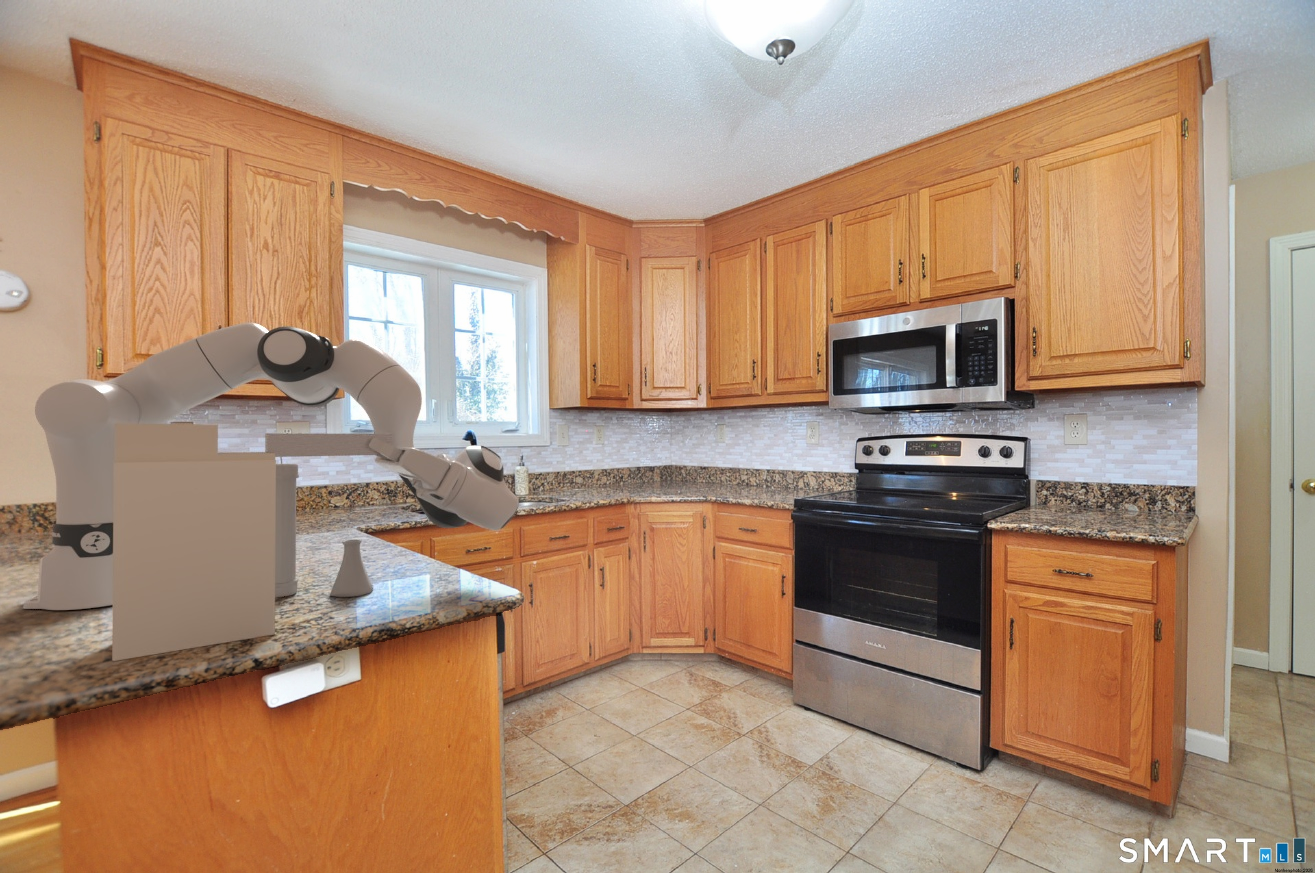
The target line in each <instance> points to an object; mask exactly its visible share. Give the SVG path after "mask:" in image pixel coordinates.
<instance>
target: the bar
mask: <svg viewBox="0 0 1315 873" xmlns="http://www.w3.org/2000/svg"><path fill="white" fill-rule="evenodd" d="M264 434H265V436H264V438H265V441H264V442H265V443H264V445H265V446H264V450H265V451H264V452H265V453H275V458H280V457H282V458H284V457H285V458H290V457H294V458H295V457H343V456H344V457H345V456H348V457H349V456H375V455H382V454H380V453H378V452H376V451H374V450H372V449H370V448H368V446H367V444H368V443H369V441H370V440H371V439H372V438H376V439H378V440H380V441H382V442H384V443H386V444H389V445H392V446H393V434H374V433H275V432H272V433H264Z"/></svg>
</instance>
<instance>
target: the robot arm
mask: <svg viewBox="0 0 1315 873" xmlns="http://www.w3.org/2000/svg"><path fill="white" fill-rule="evenodd" d="M332 343H333V342H331V340H330V339H329V338H327V337H325V336H322V335H319V334H315V333H312V332H309V331H307V330H305V329H302V328H299V327H295V326H287V325H285V326H278V327H275V328H273V329H271V330H268V329H267V328H265V327H264V326H263V325H260V324H258V323H255V322H243V323H238V324H234V325H230V326H225V327H222V328H220V329H219V328H218V329H216V330H213V331H209V332H206V333H204V334H202V335H199V336H196V337H193V338H191V339H189V340H187V341H184V342H181V343H179V344H177V345H174V346H172V347H169V348H167V349H165V350H162V351H159V352H157V353H154V354H152V355H151V356H149V357H148V358H147V359H145V360H144V361H143V362H140V363H139V364H138V365H136V366H135V367H133V368H131V369H130V370H128V371H126V372H124V373H122V374H121V375H118V376H116V377H114V378H111V379H108V380H104V381H103V380H102V381H100V380H96V379H89V378H79V379H78V378H77V379H70V380H67V381H62V382H60V383H57V384H54V385H52V386H50V387H49V388H46V389H45V390H44V391H43V392H42V393H41V394H40V395H39V396H38V398H37V400H36V402H35V407H34V414H35V415H34V416H35V417H36V420H37V422H38V424H39V425H40V427H42V429H43V431H44V433H45V438H46V442H47V445H48V446H47V447H48V450H49V454H50V457H51V461H52V467H53V470H54V476H55V483H56V485H55V489H56V490H55V491H56V492H55V493H56V494H55V495H56V500H55V502H56V505H55V506H56V509H55V510H56V511H55V512H56V513H55V514H56V515H55V516H56V521H55V522H56V523H54V524H52V530H51V537H52V538H51V540H52V541H51V544H52V545H54V546H53V548H52V549H51V550H50V551H49V552H47V553H46V554H45V555H44V556H43V557H41V558H40V560H39V568H38V569H39V570H38V571H39V572H38V582H37V583H38V584H37V596H34V597H32V598H30V599H28V600H26V601H24V602H23V606H22V607H23V608H22V609H23V610H31V609H32V610H34V609H35V610H36V609H37V610H38V609H39V610H40V609H41V610H47V611H69V610H70V611H71V610H82V609H91V608H93V609H94V608H101V607H107V606H113V496H114V462H115V423H136V424H166V423H167V422H169V421H171V420H173V419H174V418H176V417H178V416H179V415H181V414H183V413H185V412H187V411H188V410H190V409H193V408H194V407H195V408H196V407H197V406H199V405H201V404H203V403H206V402H207V401H210V400H212V399H215V398H216V397H219V396H221V395H223V394H226V393H228V392H231V391H232V390H234V389H236V388H240V387H241V386H243V385H245V384H248V383H249V382H253V381H257V380H267V381H270V382H272V384H273V386H274V387H275V388H277V389H278V390H279V391H280V392H281V393H283V394H284V395H285V396H286V397H287V398H288V399H290V400H292V401H293V402H295V403H296V404H299V405H302V406H305V407H309V408H317V407H323V406H325V405H327V404H329V403H330V402H332V401H333V400H334V399H335V398H336V397H337V396H338V393H339V391H340V390H342V391H344V392H345V393H346V394H349V396H350V397H352V399H353V400H355V401H356V402H357V403H358V405H359V406H361V408H362V409H363V410H364V411H365V413H366V414H367V417H368V418H369V420H370V423H371V424H372V425H371V426H372V429H373V434H393V446H392V445H389V444H386V443H384V442H382V441H380V440H378V439H376V438H372V439H371V440H370V441H369V443H368V444H367V446H368V448H370V449H372V450H374V451H376V452H378V453H380V454H382V455H374V456H376V458H375V460H374V462H375V463H376V464H377V465H379V466H381V467H383V468H385V469H386V470H389V471H391V472H393V473H395V474H397V475H398V476H399V477H400V479H401V480H402V481H403V483H405V485H406V486H407V488H408V489H409V490H410V492H411V493H412V494H413V495H414V497H415V498H416V500H417V502H418V504H419V505H420V508H421V509H422V511H423V513H424V514H425V517H427V519H428V520H429V521H430V523H432V524H434V525H435V526H437V527H439V528H443V529H455V528H460V527H461V528H462V527H463V526H465V525H467V523H470V524H472V525H475V526H478V527H480V528H483V529H487V530H490V531H500V530H502V529H503V528H505V527H506V526H507V524H508V523H509V522H510V521H511V520H512V519H513V517H514V516H515V515H516V513H517V512H518V511H517V510H518V509H519V504H520V502H519V501H520V500H519V498H518V496H517V495H515V494H514V493H513V492H512V491H511V490H510V488H509V487H508V486H507V483H506V480H505V478H504V462H503V459H502V458H501V456H500V455H499V454H497V453H496V452H495V451H493V450H492V449H490V448H488V447H486V446H484V445H477V444H476V445H475V444H474V445H468V446H466V447H465V448H464V449H462V451H460V453H459V454H458V455H456V457H455V458H452V457H450V456H448V455H446V453H445V454H444V453H440V454H437V456H436V455H434V454H431V453H429V452H427V451H424V450H421V449H418V448H415V446H414V435H415V434H414V433H415V430H416V425H417V422H418V418H419V416H420V412H421V410H422V405H423V404H422V403H423V401H422V400H423V399H422V391H421V388H420V386H419V384H418V382H417V380H415V378H414V377H413V376H412V375H411V374H410V373H409V372H408V371H407V370H406V369H405V368H404V367H403V366H402V365H401V364H399V363H398V362H397V361H396V360H395V359H393V358H392V357H391V356H390V355H388V353H386V352H384V350H383V349H380V348H379V347H378V346H376V345H375V344H373V343H372V342H369V341H367V340H366V339H362V338H351V339H347V340H346V341H344V342H341V343H340V344H339V345H335V346H333V344H332Z"/></svg>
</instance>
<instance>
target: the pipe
mask: <svg viewBox="0 0 1315 873" xmlns="http://www.w3.org/2000/svg"><path fill="white" fill-rule="evenodd" d="M279 458H280V463H276V525H275V599H276V598H285V597H289V596H292V595H295V594H296V593H297V592H298V583H299V578H298V577H296V576H297V574H296V573H297V572H296V571H297V569H296V567H297V566H296V565H297V561H296V560H297V552H296V551H297V547H296V546H297V479H298V478H300V473H299V465H298V464H297V463H283V457H279ZM284 596H285V597H284Z"/></svg>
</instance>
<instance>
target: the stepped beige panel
mask: <svg viewBox="0 0 1315 873" xmlns="http://www.w3.org/2000/svg"><path fill="white" fill-rule="evenodd" d="M218 434H219V425H218V424H201V423H198V424H197V423H194V424H193V423H190V424H189V423H163V424H136V423H115V462H114V496H113V605H112V635H111V636H112V644H111V645H112V646H111V647H112V650H111V651H112V653H111V654H112V655H111V656H112V658H111V660H112V662H116V661H121V660H127V659H135V658H139V657H140V658H141V657H146V656H151V655H152V656H153V655H157V654H158V655H159V654H163V653H164V654H165V653H171V652H176V651H181V650H188V649H194V648H200V647H201V648H202V647H206V646H211V645H212V646H213V645H218V644H224V643H230V642H237V641H243V640H248V639H254V638H255V639H256V638H261V637H268V636H272V635H275V634H276V632H275V631H276V598H275V525H276V464H277V460H276V457H275V453H265V451H256V452H255V451H254V452H253V451H251V452H250V451H248V452H247V451H246V452H245V451H244V452H242V451H239V452H236V451H235V452H231V451H230V452H229V451H228V452H226V451H225V452H219V450H218V448H219V446H218V445H219V442H218V440H219V437H218V436H219V435H218Z"/></svg>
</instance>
